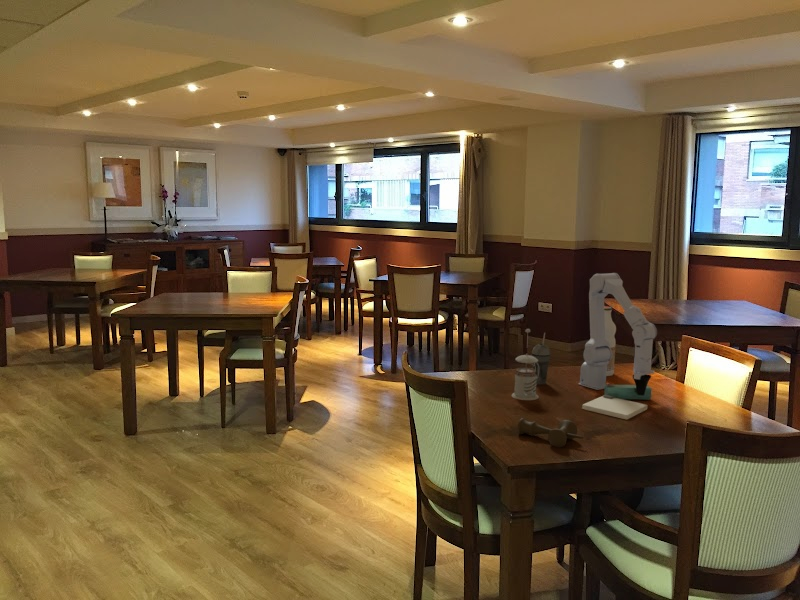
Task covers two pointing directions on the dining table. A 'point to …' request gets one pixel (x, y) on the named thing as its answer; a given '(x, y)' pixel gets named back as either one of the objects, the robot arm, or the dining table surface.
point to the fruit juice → (610, 338)
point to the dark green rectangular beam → (626, 392)
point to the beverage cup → (541, 361)
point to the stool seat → (614, 407)
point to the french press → (525, 378)
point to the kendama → (550, 431)
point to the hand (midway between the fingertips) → (640, 394)
